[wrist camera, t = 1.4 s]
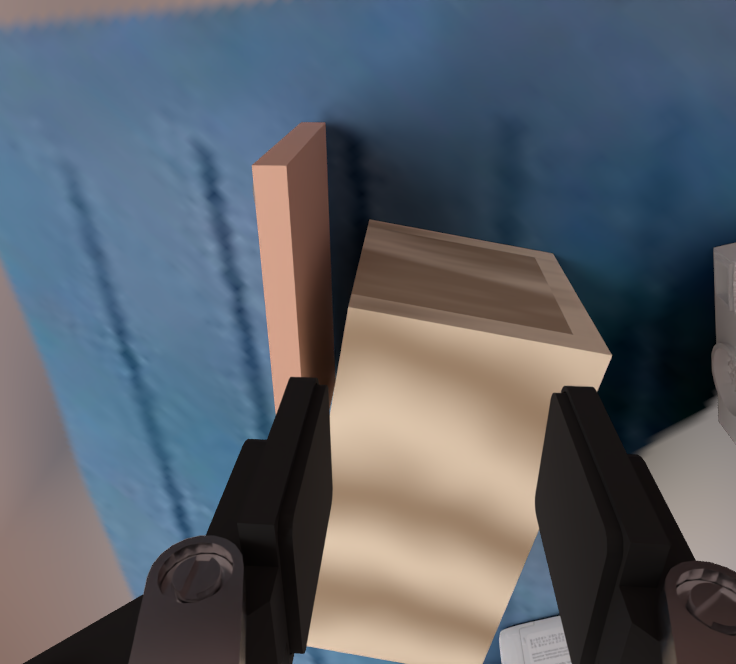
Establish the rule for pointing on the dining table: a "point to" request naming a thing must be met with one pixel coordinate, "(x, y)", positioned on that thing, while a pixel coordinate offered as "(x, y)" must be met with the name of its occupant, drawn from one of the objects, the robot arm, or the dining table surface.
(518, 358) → the wooden cabinet
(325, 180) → the door
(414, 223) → the dining table surface
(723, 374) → the garden wall model
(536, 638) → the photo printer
